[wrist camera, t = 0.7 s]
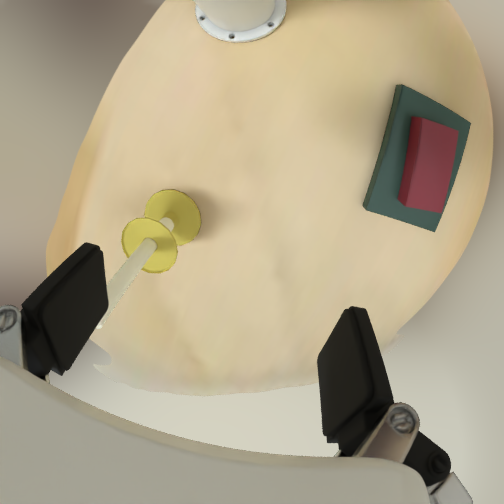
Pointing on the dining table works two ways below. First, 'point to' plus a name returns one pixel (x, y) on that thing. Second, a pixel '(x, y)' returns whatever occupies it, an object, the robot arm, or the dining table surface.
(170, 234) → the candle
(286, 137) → the dining table surface
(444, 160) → the burgundy book
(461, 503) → the robot arm
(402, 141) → the green book
